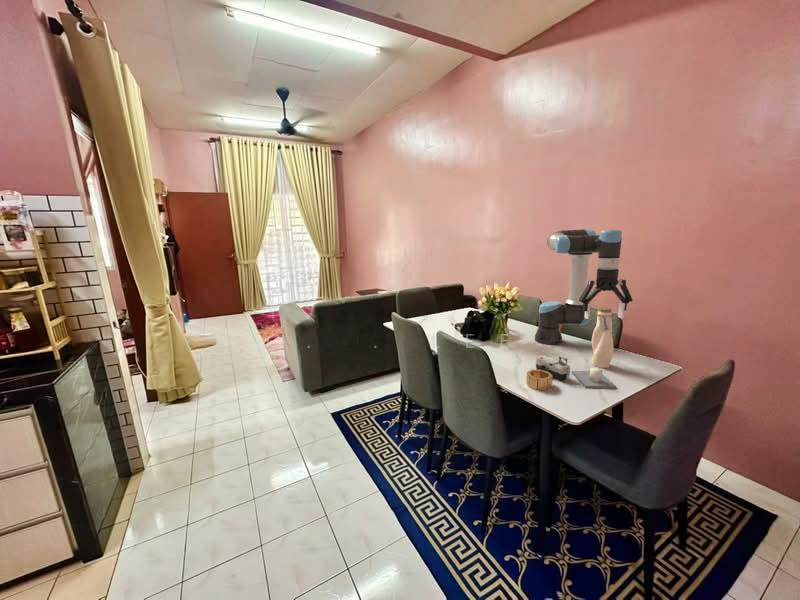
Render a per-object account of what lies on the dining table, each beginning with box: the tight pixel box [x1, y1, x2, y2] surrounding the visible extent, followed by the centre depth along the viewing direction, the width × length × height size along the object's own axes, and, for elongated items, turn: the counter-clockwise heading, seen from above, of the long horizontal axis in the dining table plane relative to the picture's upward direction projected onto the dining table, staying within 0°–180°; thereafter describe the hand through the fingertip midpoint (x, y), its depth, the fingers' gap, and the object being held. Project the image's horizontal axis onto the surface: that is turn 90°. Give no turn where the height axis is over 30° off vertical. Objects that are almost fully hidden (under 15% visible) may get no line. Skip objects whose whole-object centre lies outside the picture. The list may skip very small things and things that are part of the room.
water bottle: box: [590, 307, 615, 369], centre depth 153 cm, size 10×9×28 cm
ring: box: [525, 369, 553, 391], centre depth 139 cm, size 10×10×5 cm
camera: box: [535, 355, 571, 382], centre depth 147 cm, size 15×8×10 cm, turn 24°
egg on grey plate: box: [570, 367, 617, 389], centre depth 141 cm, size 15×12×6 cm
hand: (603, 318), depth 137 cm, fingers open, 13 cm apart
